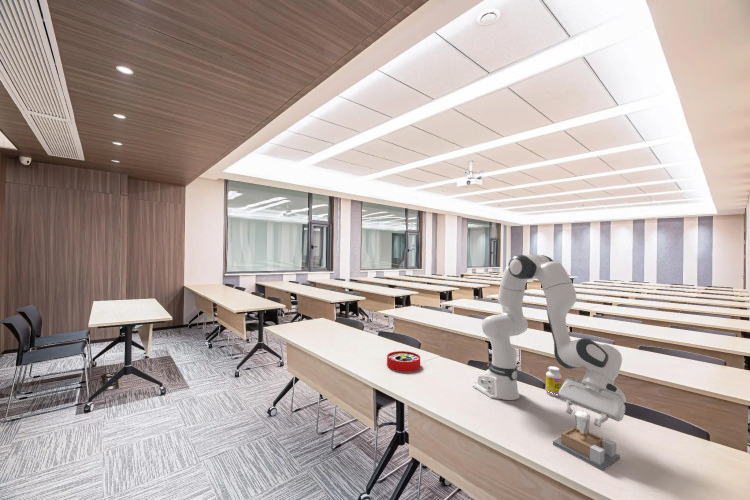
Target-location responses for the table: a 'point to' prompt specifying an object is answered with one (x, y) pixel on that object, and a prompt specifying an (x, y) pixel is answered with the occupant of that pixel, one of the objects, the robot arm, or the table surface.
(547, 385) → the supplement bottle
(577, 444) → the baseplate
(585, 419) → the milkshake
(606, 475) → the table surface
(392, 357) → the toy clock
